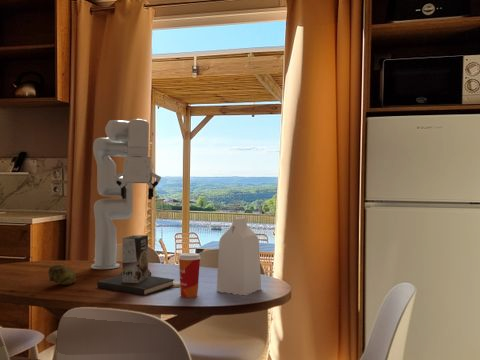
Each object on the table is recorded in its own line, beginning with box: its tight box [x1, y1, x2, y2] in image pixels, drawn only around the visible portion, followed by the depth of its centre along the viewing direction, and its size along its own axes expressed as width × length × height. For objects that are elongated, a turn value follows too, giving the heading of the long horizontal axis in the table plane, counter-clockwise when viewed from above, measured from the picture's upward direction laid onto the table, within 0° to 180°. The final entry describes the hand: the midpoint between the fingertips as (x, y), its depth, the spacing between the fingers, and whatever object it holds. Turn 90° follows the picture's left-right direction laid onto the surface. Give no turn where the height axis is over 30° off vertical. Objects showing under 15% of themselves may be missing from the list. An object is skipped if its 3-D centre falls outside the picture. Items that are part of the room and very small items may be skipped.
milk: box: [216, 217, 262, 296], centre depth 153 cm, size 12×12×26 cm
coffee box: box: [122, 234, 149, 283], centre depth 155 cm, size 9×6×16 cm
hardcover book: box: [96, 275, 175, 296], centre depth 155 cm, size 16×23×2 cm
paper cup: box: [177, 252, 202, 299], centre depth 143 cm, size 8×8×14 cm
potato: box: [47, 264, 77, 286], centre depth 158 cm, size 8×13×8 cm, turn 153°
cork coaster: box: [170, 281, 180, 289], centre depth 159 cm, size 8×8×1 cm
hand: (137, 198), depth 157 cm, fingers open, 9 cm apart
